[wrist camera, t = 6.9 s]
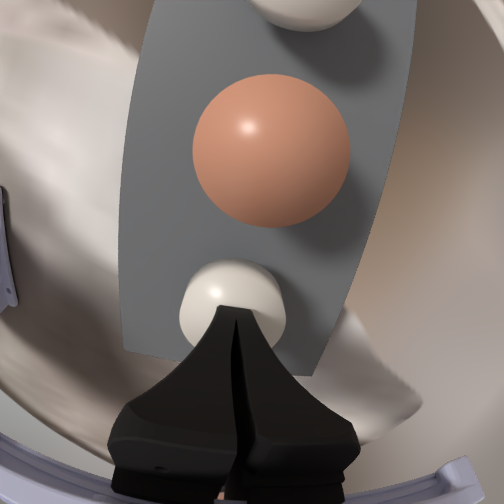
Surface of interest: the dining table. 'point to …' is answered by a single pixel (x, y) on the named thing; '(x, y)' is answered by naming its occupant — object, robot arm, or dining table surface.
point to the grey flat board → (200, 205)
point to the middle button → (271, 150)
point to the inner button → (232, 297)
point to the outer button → (304, 13)
